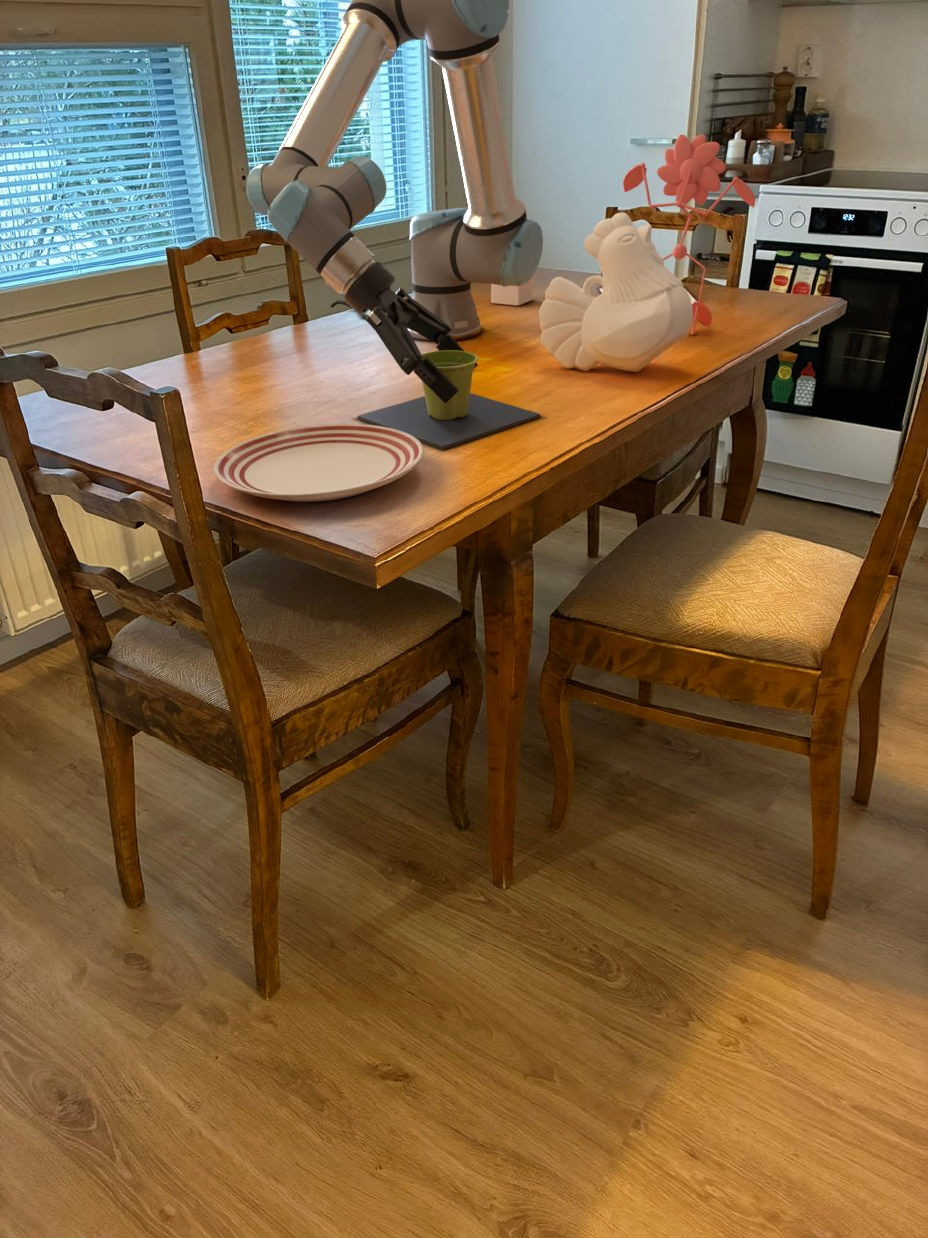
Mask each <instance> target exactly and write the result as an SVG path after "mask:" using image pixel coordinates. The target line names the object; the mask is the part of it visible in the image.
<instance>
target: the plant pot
mask: <svg viewBox="0 0 928 1238" xmlns="http://www.w3.org/2000/svg"><path fill="white" fill-rule="evenodd" d="M421 355H422V357H423V359H424V360H425V359H426V357H427V358H428V359H429V360H430V361H431V362H432V363H433V364H434V365H435V366H436V367H437V368H438V369H439V370H440V371H441V372H442V373H443V374H444V375H445V376H446V377H447V378H448V379H449V380H450V381H451V382H452V383H453V384H454V385H455V386H456V387H457V389H458V390H459V391H458V392H457V393H456V394H455V395H454V396H453V397H452V398H451V399H450V400H449V401H448V402H447V403H446V404H445V403H444V402H443V401H442V400H441V399H440V398H439V397H438V396H437V395H436V394H435V393H434V392H433V391H432V390H431V389H430V388H429V387H428V386H427V385H426V384H425V383H424V382H423V381H422V380H421V382H422V389H423V393H424V396H425V399H426V404H427V410H428V415H429V416H432V417H433V418H434V419H438V420H453V419H455V418H457V417H461V418H462V417H464V416H466V415H467V414H468V407H469V398H470V393H471V389H472V380H473V374H474V371H475V369H476V368H475V363H478V360H479V357H478V355H477V354H475V353H474V352H470V351H466V350H464V351H458V350H443V351H439V350H433V351H428V352H425V353H424V352H423V353H421ZM424 360H423V361H424ZM474 368H475V369H474Z"/></svg>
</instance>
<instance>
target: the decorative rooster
mask: <svg viewBox="0 0 928 1238" xmlns="http://www.w3.org/2000/svg"><path fill="white" fill-rule="evenodd" d="M652 229H653V227H652V225H651V224H646V225H642V226H639V227H638V226H635V225H634V223H633V221H632V219H631V217H630V216H629V214H627V213H626V212H623V211H620V212H617V213H615V214H613V216H612V217H611V218H604V219H602V220H600V221H598V223H597V224H596V225H595V226H594V228H593V230H592V233H590V234H588V235H587V236H586V237H585V239H584V243H583V247H584V251H586V253H587V254H588V255H590V256H591V257H592V258H594V259H596V260H597V262H598V265H599V268H600V272H601V274H602V275H601V274H594V275H591V276H589V277H587V279H585V280H584V283H583V284H582V288H581V287H580V286H579V285H577V284H576V283H575V282H573V281H571V280H569V279H567V278H565V277H562V276H556V277H554V278H553V279H551V281H550V283H549V286H548V287H547V288H546V289H545V291H544V298H545V300H544V301H543V302H542V303H541V305H540V308H539V311H538V318H539V329H540V330H541V334H540V345H541V346H542V347H543V348H544V349H545V350H546V352H547V353H548V355H550V356H551V357H553V358H554V360H555V361H557V362H558V363H559V364H560V366H562V367H563V368H565V369H574V368H577V369H578V370H580V371H583V372H588V371H590V369H594V368H595V367H597V366H599V364H600V365H603V366H606V367H608V368H609V367H610V368H612V369H616V370H621V371H625V372H634V373H636V372H637V373H638V372H639V371H641V370H642V369H644V368H645V367H646V366H648V365H649V364H650V363H651V362H653V361H654V360H655V359H657V358H658V357H660V355H662V354H663V353H664V352H666V351H667V350H669V349H670V348H671V347H673V346H675V345H676V344H677V343H679V342H680V341H682V340H683V339H685V338H686V337H687V336H688V334H689V332H690V329H691V327H692V324H693V319H694V318H693V317H694V316H693V308H692V303H691V300H690V297H689V295H688V293H689V292H688V290H687V289H686V288H685V287H684V284H683V282H682V281H681V280H680V279H679V278H678V276H676V275H675V274H674V273H673V272H671V271H670V270H669V269H668V268H667V267H666V266H665V261H664V260H662V259H663V258H662V257H661V255H660V254H659V252H658V251H657V249H656V246H655V244H654V242H653V241H652V239H651V238H652ZM594 284H599V285H601V287H602V288H603V292H602V293H600V294H599V295H597V296H594V295H592V293H591V287H592V286H593V285H594ZM685 289H686V290H685ZM687 292H688V293H687Z"/></svg>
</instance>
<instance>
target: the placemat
mask: <svg viewBox="0 0 928 1238" xmlns="http://www.w3.org/2000/svg"><path fill="white" fill-rule="evenodd" d="M541 416H542V415H541V413H538V412H535V411H531V410H528V409H525V408H522V407H519V406H515V405H512V404H508V403H505V402H502V401H499V400H495V399H491V398H488V397H486V396H485V397H484V396H481V395H478V394H474V393H471V392H470V398H469V407H468V414H467V415H466V416H464V417H462V418H461V417H457V418H455V419H453V420H438V419H434V418H433V417H432V416H429V415H428V410H427V404H426V399H425V395H424V396H421V397H418V398H414V399H411V400H407V401H403V402H400V403H397V404H393V405H390V406H386V407H383V408H378V409H376V410H372V411H369V412H365V413H362V414H358V415H357V418H356V419H357V420H359V421H361V422H364V423H367V424H368V425H374V426H381V427H387V428H392V429H395V430H399V431H402V432H405V433H407V434H410V435H412V436H413V437H415V438H416V439H417V440H419V442H420V443H421V444H422V443H423V444H424V445H427V446H431V447H433V448H436V449H438V450H441V451H444V450H447V449H451V448H454V447H456V446H459V445H460V446H461V445H463V444H465V443H469V442H472V441H475V440H477V439H481V438H484V437H486V436H490V435H493V434H497V433H499V432H501V431H505V430H507V429H510V428H513V427H516V426H520V425H522V424H526V423H528V422H531V421H535V420H537V419H540V418H541Z"/></svg>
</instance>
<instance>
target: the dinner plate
mask: <svg viewBox="0 0 928 1238" xmlns="http://www.w3.org/2000/svg"><path fill="white" fill-rule="evenodd" d="M424 451H425V449H424V445H423V444H422V442H419V440H417V439H416V438H415V437H413V436H412V435H410V434H407V433H405V432H402V431H399V430H395V429H392V428H387V427H381V426H375V425H372V424H362V423H327V424H313V425H305V426H297V427H290V428H286V429H281V430H277V431H272V432H269V433H265V434H262V435H259V436H256V437H252V438H249V439H247V440H245V441H242V442H240V443H238V444H236V445H234V446H232V447H231V448H229V449H227V450H226V451H224V452H223V453H222V454H221V455H220V456H219V457H217V459H216V460H215V462H214V464H213V474H214V476H215V478H216V479H217V480H219V482H220V483H222V484H224V485H225V486H227V487H230V488H232V489H235V490H236V491H239V492H241V493H244V494H248V495H252V496H255V497H259V498H265V499H271V500H278V501H280V500H281V501H288V502H298V503H314V502H315V503H317V502H327V501H336V500H341V499H345V498H350V497H354V496H357V495H360V494H364V493H365V492H368V491H369V492H370V491H371V490H375V489H378V488H380V487H383V486H385V485H386V486H387V485H388V484H390V483H392V482H394V481H396V480H398V479H400V478H401V477H403V476H405V475H407V474H408V473H409V472H411V471H413V469H414V468H416V467H417V465H418V464H419V463H420V462H421V461H422V458H423V457H424V453H425V452H424Z"/></svg>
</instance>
